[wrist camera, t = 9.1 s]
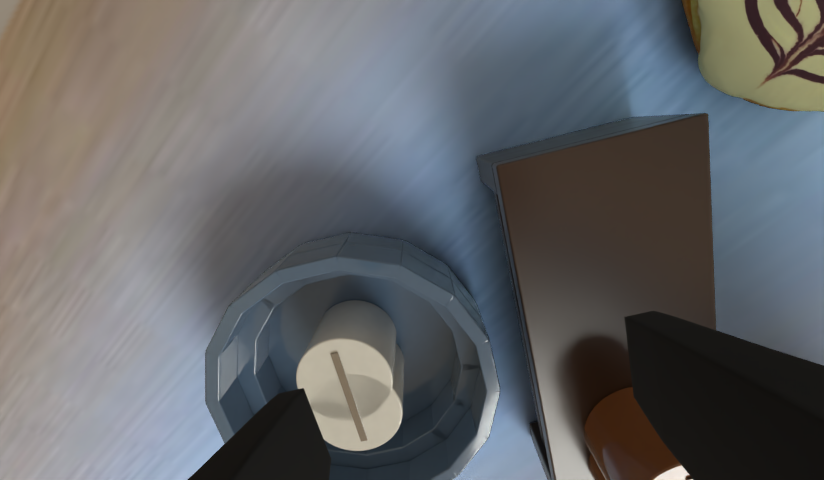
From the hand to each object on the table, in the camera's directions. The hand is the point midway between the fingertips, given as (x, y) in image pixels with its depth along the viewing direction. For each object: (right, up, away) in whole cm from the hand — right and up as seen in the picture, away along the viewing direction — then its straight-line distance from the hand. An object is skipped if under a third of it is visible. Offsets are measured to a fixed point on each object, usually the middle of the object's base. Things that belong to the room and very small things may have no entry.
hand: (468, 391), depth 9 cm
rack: (+7, 0, +11) cm, 13 cm away
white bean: (-4, -2, +11) cm, 12 cm away
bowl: (-4, -2, +11) cm, 12 cm away
